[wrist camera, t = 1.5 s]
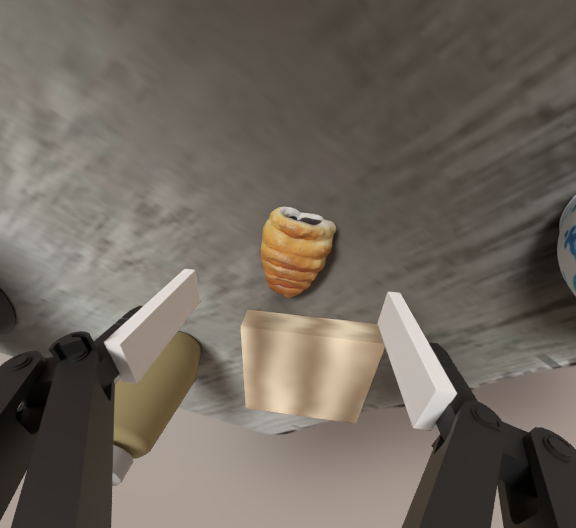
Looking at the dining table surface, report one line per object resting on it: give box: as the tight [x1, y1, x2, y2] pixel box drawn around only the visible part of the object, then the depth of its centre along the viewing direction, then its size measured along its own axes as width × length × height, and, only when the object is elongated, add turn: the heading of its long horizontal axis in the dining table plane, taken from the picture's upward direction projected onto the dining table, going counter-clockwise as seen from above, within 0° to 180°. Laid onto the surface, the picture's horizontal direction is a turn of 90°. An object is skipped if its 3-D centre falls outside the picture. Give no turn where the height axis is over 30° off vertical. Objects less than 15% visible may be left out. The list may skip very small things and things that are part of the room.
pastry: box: [261, 206, 336, 298], centre depth 22 cm, size 9×7×4 cm
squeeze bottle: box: [112, 331, 201, 486], centre depth 24 cm, size 8×8×18 cm
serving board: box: [241, 310, 385, 424], centre depth 29 cm, size 16×16×3 cm
